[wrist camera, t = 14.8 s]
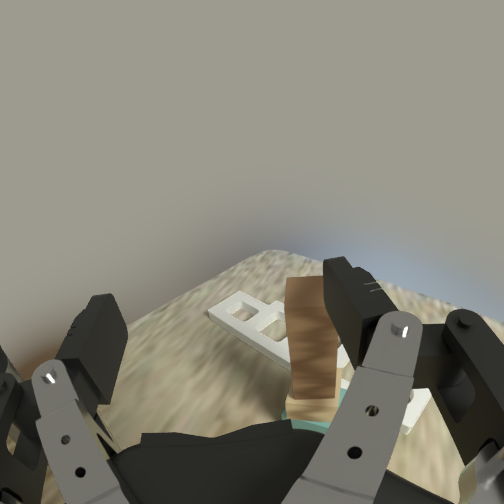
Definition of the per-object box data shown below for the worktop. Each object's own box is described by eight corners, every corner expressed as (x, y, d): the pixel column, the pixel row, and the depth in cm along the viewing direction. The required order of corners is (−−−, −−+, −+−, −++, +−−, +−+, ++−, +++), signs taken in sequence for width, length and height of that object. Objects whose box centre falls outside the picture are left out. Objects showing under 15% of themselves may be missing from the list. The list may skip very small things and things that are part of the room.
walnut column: (294, 399, 35) (283, 308, 28) (296, 369, 40) (286, 277, 33) (334, 398, 34) (338, 305, 27) (333, 368, 39) (334, 274, 32)
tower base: (283, 428, 40) (281, 414, 38) (302, 393, 45) (301, 378, 43) (328, 441, 36) (330, 428, 34) (344, 404, 41) (347, 389, 40)
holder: (209, 320, 65) (206, 310, 64) (269, 282, 75) (268, 272, 74) (406, 437, 34) (411, 428, 33) (450, 359, 44) (454, 348, 43)
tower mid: (286, 418, 37) (285, 402, 35) (296, 382, 42) (295, 364, 41) (335, 423, 35) (337, 407, 33) (340, 385, 40) (342, 368, 39)
